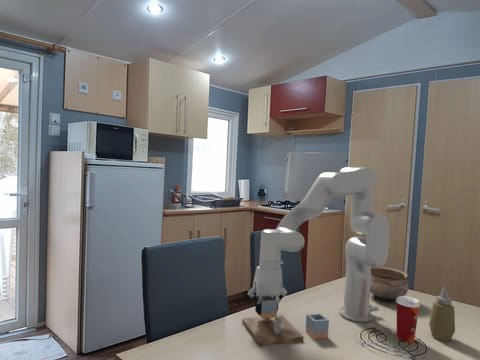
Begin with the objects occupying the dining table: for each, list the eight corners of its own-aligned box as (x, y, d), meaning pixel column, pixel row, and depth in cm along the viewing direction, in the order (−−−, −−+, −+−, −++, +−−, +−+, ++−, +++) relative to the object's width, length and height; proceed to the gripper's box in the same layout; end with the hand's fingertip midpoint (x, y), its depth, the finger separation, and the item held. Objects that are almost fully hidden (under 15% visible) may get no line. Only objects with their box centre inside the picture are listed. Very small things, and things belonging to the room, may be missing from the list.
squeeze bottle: (454, 345, 118) (458, 293, 117) (427, 338, 122) (431, 288, 121) (454, 336, 125) (458, 287, 124) (429, 330, 129) (432, 282, 128)
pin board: (282, 318, 131) (283, 302, 131) (303, 340, 115) (304, 321, 115) (242, 322, 127) (243, 304, 126) (258, 345, 110) (259, 325, 110)
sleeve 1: (270, 310, 129) (271, 295, 129) (276, 317, 124) (277, 300, 123) (256, 311, 127) (257, 295, 127) (261, 318, 122) (263, 301, 122)
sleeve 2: (319, 329, 124) (320, 313, 124) (327, 337, 119) (328, 320, 119) (305, 331, 122) (306, 314, 122) (313, 338, 117) (314, 321, 117)
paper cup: (420, 345, 116) (423, 304, 116) (396, 342, 118) (399, 301, 117) (413, 335, 124) (416, 296, 124) (391, 331, 126) (393, 294, 125)
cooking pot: (351, 289, 170) (352, 265, 169) (382, 287, 175) (384, 264, 175) (387, 310, 146) (389, 281, 145) (422, 307, 152) (424, 279, 151)
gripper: (286, 260, 131) (283, 307, 132) (244, 261, 126) (240, 310, 126) (295, 266, 124) (292, 315, 124) (250, 267, 119) (247, 319, 119)
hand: (266, 312), depth 125 cm, fingers closed on sleeve 1, 5 cm apart
